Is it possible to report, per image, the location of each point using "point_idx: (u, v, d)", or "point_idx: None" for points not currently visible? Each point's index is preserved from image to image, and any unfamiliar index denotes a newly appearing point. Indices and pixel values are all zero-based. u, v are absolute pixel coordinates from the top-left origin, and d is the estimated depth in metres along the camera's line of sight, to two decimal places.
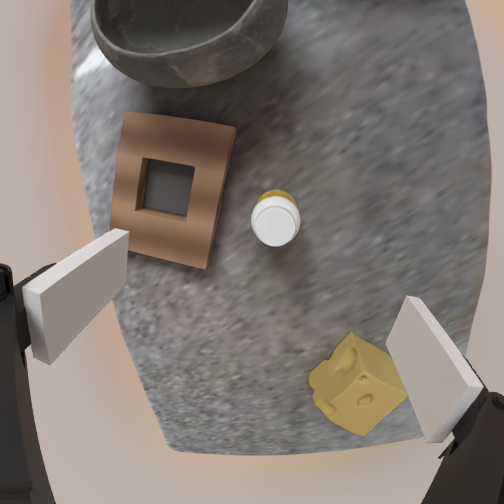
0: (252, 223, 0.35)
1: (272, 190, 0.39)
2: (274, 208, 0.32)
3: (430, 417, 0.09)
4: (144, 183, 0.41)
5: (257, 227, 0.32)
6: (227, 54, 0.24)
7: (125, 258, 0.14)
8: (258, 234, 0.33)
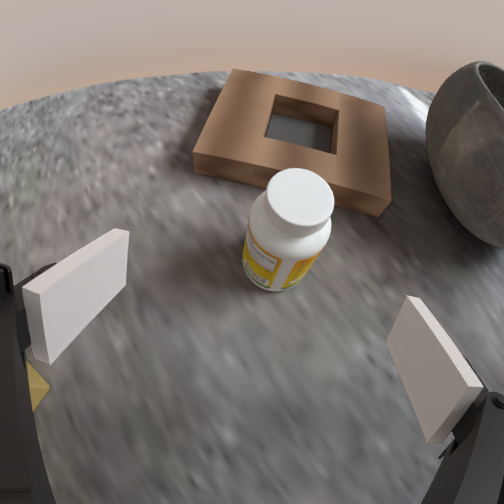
0: None
1: None
2: (333, 196, 0.18)
3: (430, 417, 0.09)
4: (302, 116, 0.34)
5: (298, 170, 0.19)
6: None
7: (125, 258, 0.14)
8: (286, 170, 0.19)
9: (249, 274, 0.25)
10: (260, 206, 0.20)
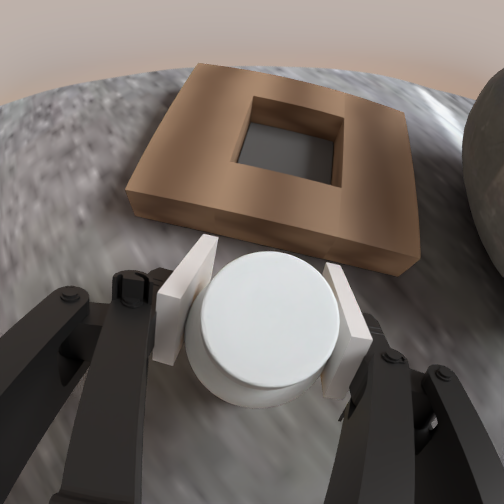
0: None
1: None
2: (338, 312, 0.09)
3: (327, 371, 0.11)
4: (292, 126, 0.24)
5: (269, 257, 0.10)
6: None
7: (213, 262, 0.16)
8: (245, 259, 0.09)
9: None
10: None
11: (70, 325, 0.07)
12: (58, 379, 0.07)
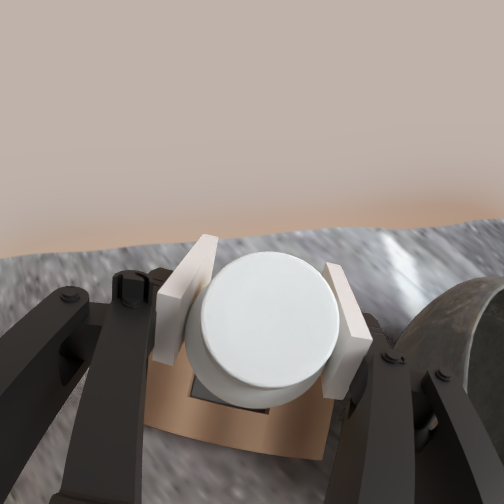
0: None
1: None
2: (338, 312, 0.09)
3: (327, 371, 0.11)
4: None
5: (269, 257, 0.10)
6: None
7: (213, 262, 0.16)
8: (245, 259, 0.09)
9: None
10: None
11: (70, 325, 0.07)
12: (58, 379, 0.07)
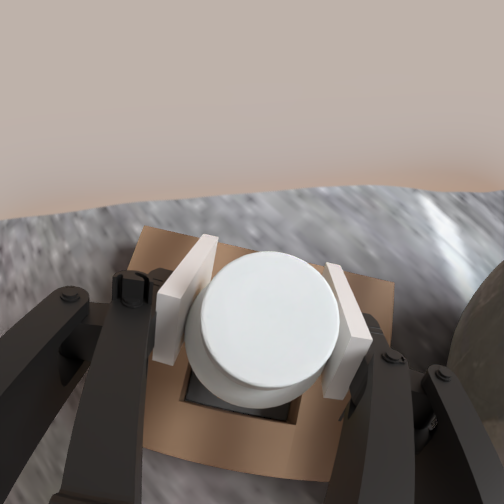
0: None
1: None
2: (338, 312, 0.09)
3: (327, 371, 0.11)
4: None
5: (269, 257, 0.10)
6: None
7: (213, 262, 0.16)
8: (245, 259, 0.09)
9: None
10: None
11: (70, 325, 0.07)
12: (58, 379, 0.07)
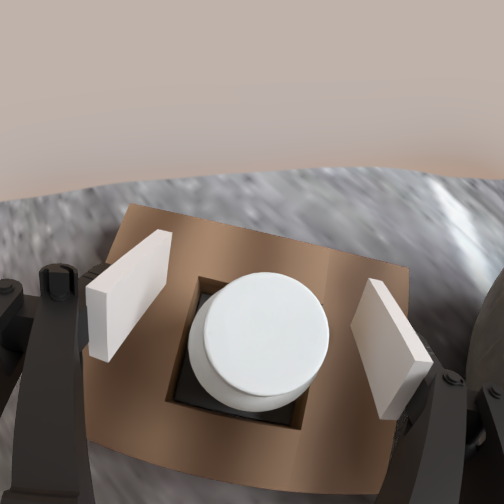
0: None
1: None
2: (328, 328, 0.10)
3: (383, 393, 0.10)
4: None
5: (265, 277, 0.10)
6: None
7: (167, 258, 0.15)
8: (243, 280, 0.10)
9: None
10: (203, 331, 0.12)
11: (7, 315, 0.07)
12: (2, 369, 0.06)
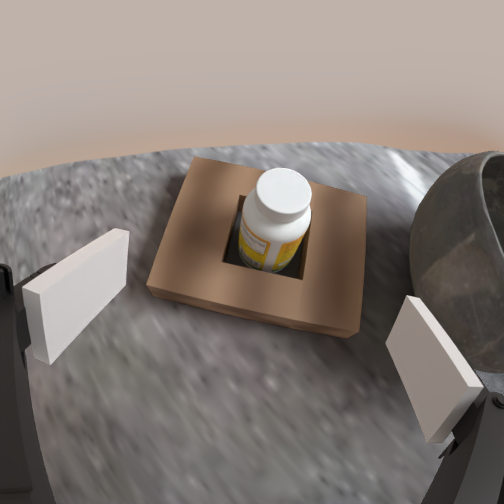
0: None
1: None
2: None
3: (430, 417, 0.09)
4: None
5: (282, 169, 0.23)
6: (491, 302, 0.17)
7: (125, 258, 0.14)
8: (272, 170, 0.23)
9: (244, 258, 0.29)
10: (252, 200, 0.24)
11: None
12: None
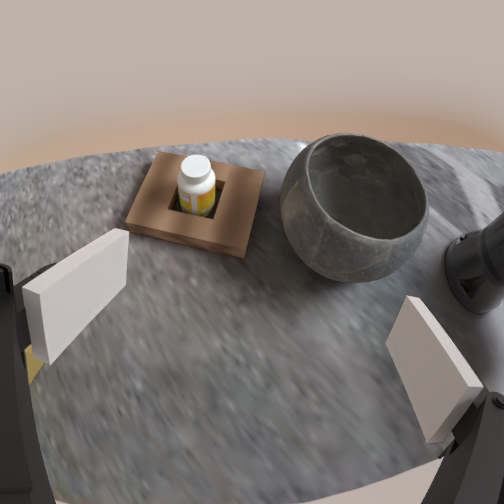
0: None
1: None
2: (210, 165, 0.42)
3: (430, 417, 0.09)
4: None
5: (196, 155, 0.42)
6: (307, 219, 0.36)
7: (125, 258, 0.14)
8: (191, 156, 0.42)
9: (182, 209, 0.48)
10: (181, 172, 0.43)
11: None
12: None
